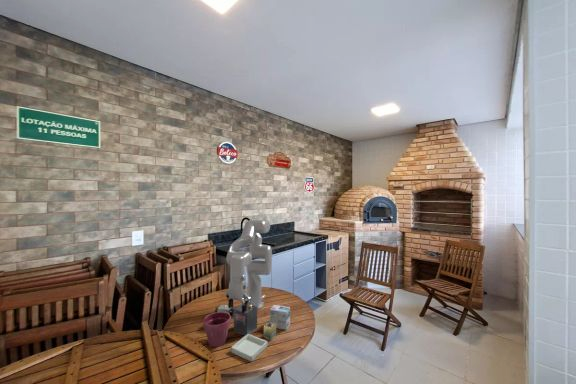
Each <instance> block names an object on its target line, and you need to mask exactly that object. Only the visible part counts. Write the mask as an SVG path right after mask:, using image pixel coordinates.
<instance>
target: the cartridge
mask: <svg viewBox="0 0 576 384" xmlns="http://www.w3.org/2000/svg"><path fill="white" fill-rule="evenodd" d="M276 337H277V328H276V323H273V322H271V321H270V320H269V321H267V322H266V323H265V324H263V339H266V340H267V341H272V340H274V338H276Z"/></svg>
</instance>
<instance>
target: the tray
mask: <svg viewBox="0 0 576 384" xmlns="http://www.w3.org/2000/svg"><path fill="white" fill-rule="evenodd" d="M268 347H269V340H267V339H266V340H265V339H264V338H263V339H262V338H260V337H257V336H255V335H253V334H247V335H246V336H244V335H243V337H241V339H239V340H238V341H237V342H235V344H233V345H232V346H231V347H230V353H232V354H234V355H237V356H238V357H241V358H243V359H244V360H247V361H249V362H251V363H252V362H253V361H254V360H255V359H256V358H258V357H259V355H260V354H261V353H263V352H264V350H265V349H267V348H268Z"/></svg>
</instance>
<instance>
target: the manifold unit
mask: <svg viewBox="0 0 576 384" xmlns="http://www.w3.org/2000/svg"><path fill="white" fill-rule="evenodd" d="M244 303H245V301H244ZM242 305H243V304H242V303H240V304H239V305H238V306H236V307H234V317H233V332H235V333H237V334H240V335H242V336H243V337H244V336H246V335H247V334H250V335H252V333H254V332H255V331H256V330H257V329H258V309H257V307H256V306H253V305H252V304H247V311H246V312H244V313H242Z"/></svg>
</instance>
